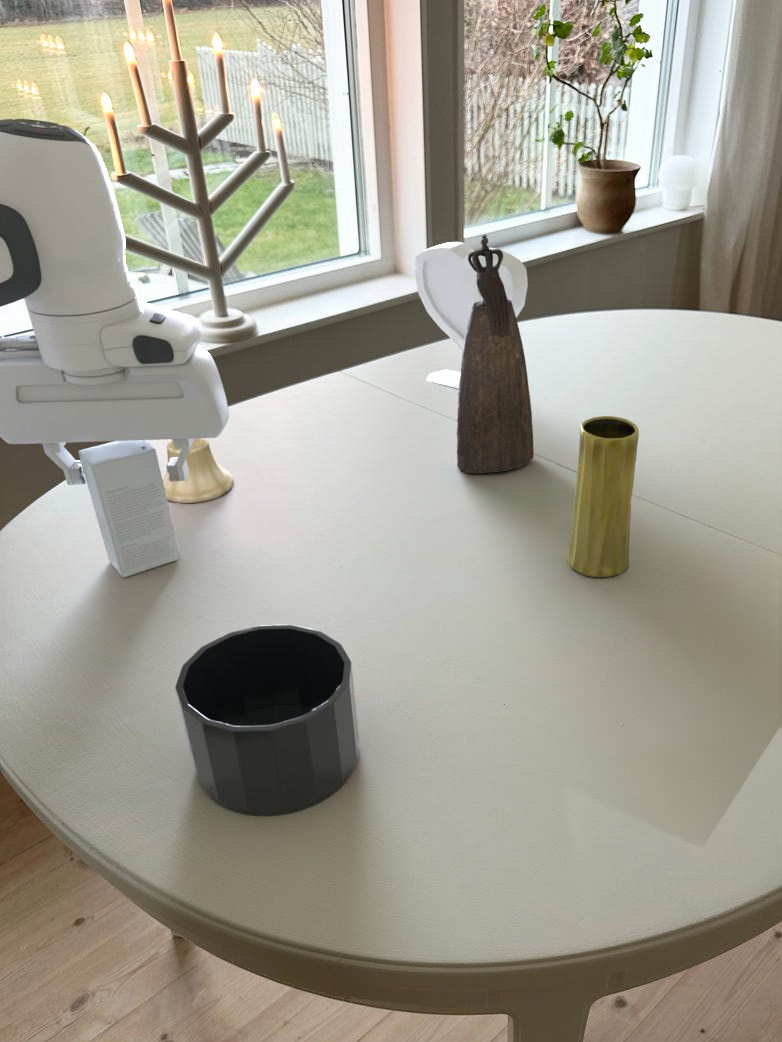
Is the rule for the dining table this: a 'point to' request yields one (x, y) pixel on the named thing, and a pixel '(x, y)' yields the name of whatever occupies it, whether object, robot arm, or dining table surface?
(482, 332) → the statue
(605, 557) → the vase
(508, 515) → the dining table surface
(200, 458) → the hand bell
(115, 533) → the cosmetic box
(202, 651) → the holder pot
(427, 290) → the heart sculpture
